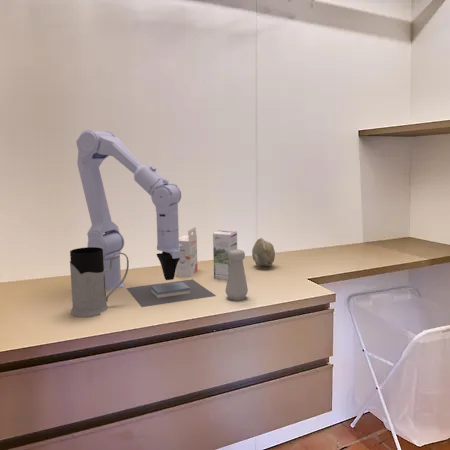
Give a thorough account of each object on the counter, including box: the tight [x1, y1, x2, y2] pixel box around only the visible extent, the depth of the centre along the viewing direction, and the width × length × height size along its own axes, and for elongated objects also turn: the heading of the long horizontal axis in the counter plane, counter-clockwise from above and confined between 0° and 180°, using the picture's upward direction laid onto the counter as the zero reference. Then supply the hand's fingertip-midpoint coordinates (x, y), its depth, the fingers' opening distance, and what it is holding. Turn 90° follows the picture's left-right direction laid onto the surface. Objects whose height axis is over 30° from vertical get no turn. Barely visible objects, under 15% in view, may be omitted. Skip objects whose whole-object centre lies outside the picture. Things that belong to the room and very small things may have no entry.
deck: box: [151, 282, 190, 298], centre depth 121 cm, size 9×2×6 cm
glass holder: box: [69, 246, 130, 318], centre depth 109 cm, size 9×14×15 cm, turn 114°
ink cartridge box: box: [175, 226, 198, 278], centre depth 141 cm, size 9×5×15 cm, turn 168°
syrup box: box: [212, 229, 238, 281], centre depth 135 cm, size 6×6×14 cm
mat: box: [125, 278, 217, 308], centre depth 122 cm, size 20×18×1 cm
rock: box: [251, 237, 276, 268], centre depth 149 cm, size 9×8×10 cm
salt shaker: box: [224, 249, 249, 302], centre depth 115 cm, size 6×6×13 cm
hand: (169, 279), depth 121 cm, fingers closed
